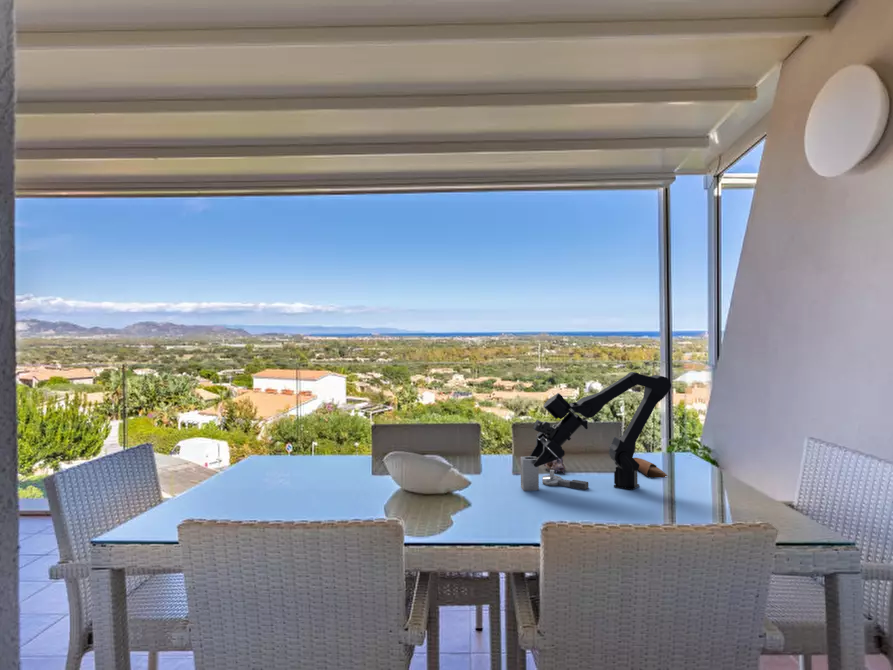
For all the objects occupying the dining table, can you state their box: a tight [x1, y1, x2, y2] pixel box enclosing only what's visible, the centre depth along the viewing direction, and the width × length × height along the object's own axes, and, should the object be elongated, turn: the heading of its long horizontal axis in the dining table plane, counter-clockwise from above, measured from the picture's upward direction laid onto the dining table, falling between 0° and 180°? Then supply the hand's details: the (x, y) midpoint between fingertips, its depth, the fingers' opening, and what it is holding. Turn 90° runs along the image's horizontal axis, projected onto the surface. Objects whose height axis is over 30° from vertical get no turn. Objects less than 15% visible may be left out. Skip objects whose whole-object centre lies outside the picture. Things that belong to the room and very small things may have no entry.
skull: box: [543, 457, 566, 474], centre depth 220 cm, size 12×8×6 cm, turn 179°
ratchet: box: [541, 469, 589, 491], centre depth 199 cm, size 16×6×4 cm, turn 53°
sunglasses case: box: [633, 457, 669, 478], centre depth 217 cm, size 18×7×7 cm
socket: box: [520, 455, 540, 492], centre depth 196 cm, size 5×5×10 cm
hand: (531, 462), depth 196 cm, fingers open, 9 cm apart
